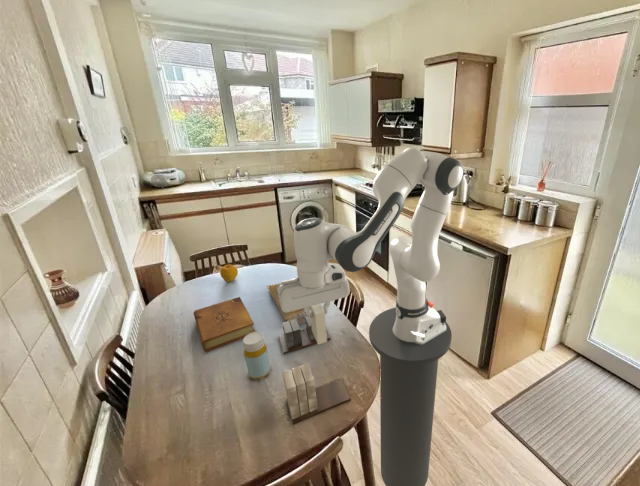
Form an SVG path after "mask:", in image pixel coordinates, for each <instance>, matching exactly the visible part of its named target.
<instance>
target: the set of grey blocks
mask: <svg viewBox="0 0 640 486" xmlns="http://www.w3.org/2000/svg"><path fill="white" fill-rule="evenodd" d="M304 316H305V323H304V324H305V328H302V329H301V328H300V325H298V322H297V320H296V318H293V320H292V319H291V321H290V322H289V321H287V322H286V321H284V322H282V325H281V326H282V330H283V335H280V336H278V339H279V343H280V346H281V349H282V353H283V355H287V354H290V353H293V352H296V351H299V350H302V349H306V348H309V347H311V346H315V345H318V344H317V341H316V339H315V337H314V334H313V332H312V325H311V318H308V316H306V315H304ZM326 335H327V341H330V340H331V337H330V335H329V333H328V330H326Z"/></svg>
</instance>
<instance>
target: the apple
mask: <svg viewBox="0 0 640 486" xmlns="http://www.w3.org/2000/svg"><path fill="white" fill-rule="evenodd" d="M238 271H239V270H238V267H236V265H234V264H230V263H229V264H225V265H224V266H222V267H220V271H219V274H220V275H219V276H220V277H221V278H222V280H223V281H225V282H227V283H231V282H233V281H234V280H236V278H237V277H238V273H239V272H238Z"/></svg>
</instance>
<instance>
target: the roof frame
mask: <svg viewBox="0 0 640 486" xmlns="http://www.w3.org/2000/svg"><path fill="white" fill-rule="evenodd" d="M293 279H295V277H294V278H293ZM282 282H283V281H280V283H282ZM280 283H279V282H278V283H274V284H269V285H267V289H268V292H269V295H270V296H271V297H272V299H273V301H274V303H275V305H276V306H277V308H278V310H279V312H280V314H281V315H282V317H283V319H284V322H287V321H289V322H290V321H291V320H294V319H296V320H297V322H298V325H299V326H301V325H303V324H306V323H305V316H308V315H307V313H306V312H305V311H304V309H303V308H302V309H298V310H295V311H291V312H287V313H285V312H283V311H282V310H281V307H280V296H279V295H278V294H277V286H278V285H279V284H280ZM308 310H310V307H309V309H308ZM304 314H305V315H304ZM300 315H301V316H300ZM297 316H298V318H297Z"/></svg>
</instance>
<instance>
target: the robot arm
mask: <svg viewBox="0 0 640 486" xmlns="http://www.w3.org/2000/svg"><path fill="white" fill-rule="evenodd" d="M463 178H464V166H463V164H462V162H461V161H459V159H456V158H455V157H453V156H452V157H451V156H448V155H445V154H442V153H439V152H433V151H426V150H423V149H419V148H416V147H412V146H409V147H405V148H404V149H403V150H401V151H400V152H399V153H397V154H396V155H395V156H394V157H392V158H391V159H390V160H389V161H388V162H387V163H386V164H385V165H384V166H383V167H382V168H381V169H380V171H379V172H377V174H376V176H375V177H374V178H373V180H372V191H373V195H374V196H375V198H376V200H377V201H378V206H377V209H376V211H375V212H374V214H373V215H372V216H371V217H370V219H369V220H368V222H367V223H366V224H365V225H364V227H363V228H362V229H361V230H360V231H355V230H353V229H352V228H350V227H348V226H347V225H346V224H345V225H344V224H342V223H334V222H333V223H332V222H327V221H325V220H323V219H322V218H320V217H309V218H308V217H307V218H305V219H303V220H300V221H299V222H298V223H296V225H295V227H294V230H293V246H294V247H293V248H294V255H295V257H296V273H297V274H296V275H297V277H296V278H295V277H294V278H295V279H294V278H291V279H289V280H282V281H281V282H282V283H281V282H280V284H279V283H278V284H279V285H278V286H277V291H276V292H277V293H276V294H278V296H279V298H280V300H279V301H280V302H279V303H280V307H281V310H282V311H283V312H285V313H287V312H291V311H295V310H298V309H302V308H303V309H304V313H305V312H306V314H307V315H308V318H312V317H314V316H313V312H312V310H308V309H309V307H310V306H314V305H317V304H321V305H322V304H323V306H322V308H323V310H324V312H325V315H326V314H328V310H329V309H328V308H329V307H330V305H331V302H332V301H337V300H339V299H343V298H348V296H349V295H350V293H351V290H350V289H351V288H350V283H349V280H348V278H347V275H346V274H347V273H346V272H348V273H355V272H356V273H357V272H360V271H362V270H364V269H365V268H367V267H368V266H369V265H370V264H371V262H372V260H373V258H374V256H375V254H376V251H377V249H378V247H379V246H380V244H381V243H382V242H383V240H384V239H385V238H386V236H387V234H388V233H389V231H390V230H391V229H392V227H393V225H395V222H396V221H397V220H398V218H400V215H401V214H402V212H403V209H404V207H405V200H406V199H407V197H408V196H409V194H410V193H411V192H412V191H413V189H414V188H415V187H416V186H417V185H418V184H419V185H422V186H424V189H423V192H422V194H421V196H420V198H419V200H418V203H417V205H416V207H415V211H414V213H413V215H412V218H411V221H410V229H411V238H410V237H408V236H403V235H400V236H396V237H394V238H393V239H392V241H391V242H390V243H389V246H388V252H389V255H390V257H391V260H392V265H393V269H394V274H395V279H396V285H397V286H396V287H397V288H396V290H397V291H396V296H397V297H396V300H395V308H396V320H395V323H394V326H393V333H394V335H395V336H396V337H397V338H399V339H400V340H403V341H406V342H414V343H417V344H420V345H423V344H424V343H426V342H428V341H429V340H431V339H433V338H434V337H436V336H438V335H439V334H441V333H443V332H444V331H446V325H445V323H444V322H447V316H446V315H445V313H444V312H443V311H442V309H438V310H436V309H435V308H434V306H435V304H434V303H433V302H432V301H431V300H430V301H429V300H428V299H427V297H426V293H427V284H426V283H429V282H431V281H433V280H434V279H435V278H436V277H438V275H439V273H440V270H441V263H440V260H439V255H438V254H439V253H438V249H439V247H438V246H439V245H438V244H439V238H440V235H441V234H440V233H441V231H442V228H443V225H444V223H445V220H446V218H447V216H448V213H449V210H450V208H451V204H452V201H453V197H454V191H456V189H457V188H458V187H459V186H460V185H461V183H462V181H463ZM331 260H335V261H336V262H337V263H336V262H330V261H331Z"/></svg>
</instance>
